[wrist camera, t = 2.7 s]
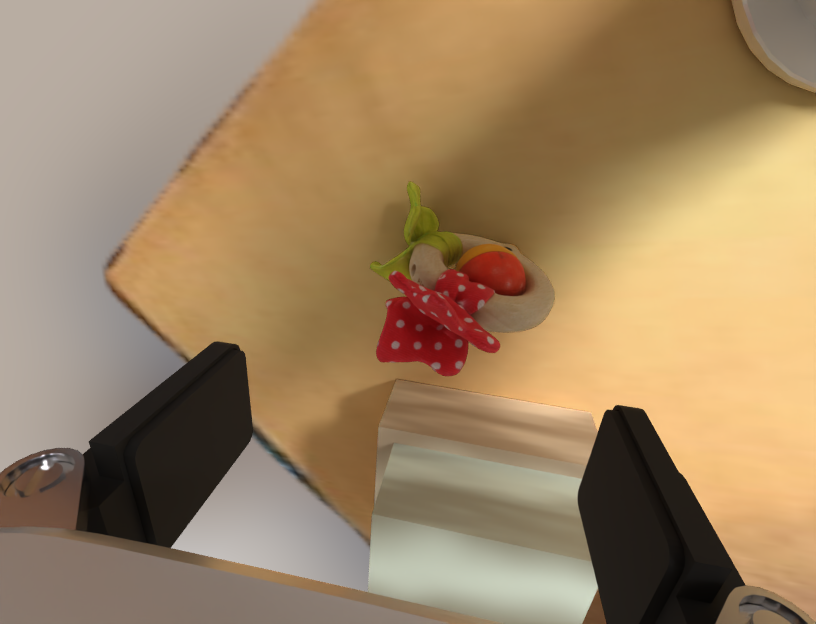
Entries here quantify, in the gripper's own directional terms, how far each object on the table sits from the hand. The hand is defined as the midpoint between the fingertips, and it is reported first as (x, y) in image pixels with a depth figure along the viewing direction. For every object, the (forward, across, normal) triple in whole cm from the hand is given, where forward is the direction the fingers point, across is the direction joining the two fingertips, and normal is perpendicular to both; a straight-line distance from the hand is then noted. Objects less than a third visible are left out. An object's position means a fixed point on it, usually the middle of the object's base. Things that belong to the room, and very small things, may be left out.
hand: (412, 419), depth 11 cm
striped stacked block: (+15, -4, +16) cm, 23 cm away
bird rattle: (+15, -1, -1) cm, 15 cm away
